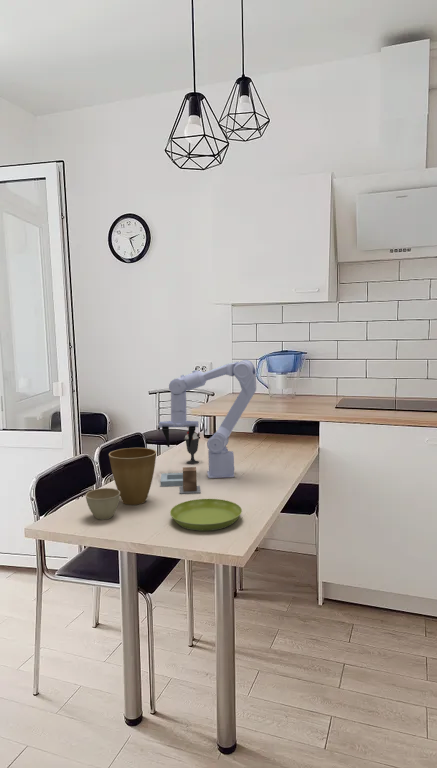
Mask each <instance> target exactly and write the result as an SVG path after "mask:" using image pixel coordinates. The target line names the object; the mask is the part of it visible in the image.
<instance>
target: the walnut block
mask: <svg viewBox="0 0 437 768" xmlns="http://www.w3.org/2000/svg"><path fill="white" fill-rule="evenodd" d="M182 473H183V491H197V486H198V483H197V482H198V481H197V480H198V479H197V477H198V476H197V474H198V473H197V467H196V466H187V467H185V466H184V467H182Z"/></svg>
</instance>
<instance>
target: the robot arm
mask: <svg viewBox="0 0 437 768" xmlns="http://www.w3.org/2000/svg"><path fill="white" fill-rule="evenodd" d="M253 363H254V362H252V361H251V360H248V359H243V360H240V361H234V362H229V363H226V364H223V365H221V366H218V367H215V368H213V369H210V370H207V371H205V372H203V371H202V370H197V369H195V370H192V371H191V373H188V374H185V375H184V374H181V375H180V377H176V378H174V379H172V380H171V381H170V382H169V383H168V384H169V385H168V390H169V391H170V420H168V421H167V420H166V421H165V420H164V421H159V422H158V428H160V429H161V431H162V433H163V435H164V437H165V441H166V444H167V445H166V446H167V448H169V447H170V428H187V427H188V429H189V439H188V447H190V444H191V440H192V436H193V434H194V432H196V429H197V428H199V421H197V420H187V391H192V390H194V389H197V388H199V387H203V386H205V385H206V382H207V381H210V380H212V379H217V378H219V377H222V376H225V375H226V376H229V377H235V379H236V380H237V381H238V382H239V385H240V388H241V391H240V392H239V393H238V396H237V397H236V399H235V400H234V403H233V404H232V405H231V407H230V409H229V411H228V412H227V413H226V416H225V417H224V419H223V420H222V422H221V424H220V425H219V427H218V429H217V430H216V431H215V432H214V433H213V435H212V436H210V437H209V438H208V440H207V443H206V444H207V445H206V446H207V449H208V450H207V451H208V458H207V459H208V470H207V471H206V473H207V478H208V479H216V478H217V479H220V478H224V479H225V478H235V455H234V451H232V450H231V451H230V450H229V448H227V445H228V444H229V440H230V439H229V438H230V436H231V434H232V431H233V429H234V428H235V426H236V425H237V423H238V421H239V420H240V418H241V417H242V415H243V413H244V412H245V410H246V408H247V406H248V405H249V403H250V402H251V400H252V398H253V397H254V396H255V393H256V391H257V370H256V368H255V365H254V364H253Z"/></svg>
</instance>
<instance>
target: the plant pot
mask: <svg viewBox="0 0 437 768" xmlns="http://www.w3.org/2000/svg"><path fill="white" fill-rule="evenodd" d="M108 457H109V463H110V468H111V473H112V476H113V479H114V483H115V486H116V489H117V490H119V491H120V499H121V502H122V503H123V504H124V505H128V506H136V505H141V504H145V502H146V501H147V500H148V496H149V493H150V489H151V486H152V483H153V477H154V473H155V468H156V460H157V459H156V458H157V450H155V449H152V448H148V447H129V448H128V447H127V448H119V449H116V450H112V451H110V452H109V453H108Z"/></svg>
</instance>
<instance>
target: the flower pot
mask: <svg viewBox="0 0 437 768" xmlns="http://www.w3.org/2000/svg"><path fill="white" fill-rule="evenodd" d="M85 499H86V503H87V506H88V508H89V510H90V512H91V514H92V516H93V517H94V518H95V519H96V520H102V521H103V520H109V519H110V518H112V517H113V516H114V515H115V512H116V510H117V508H118V505H119V501H120V499H121V497H120V491H119V490H118V489H117V488H111V487H109V488H108V487H104V488H103V487H102V488H96V489H92V490H89V491H87V492H86V493H85Z"/></svg>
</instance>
